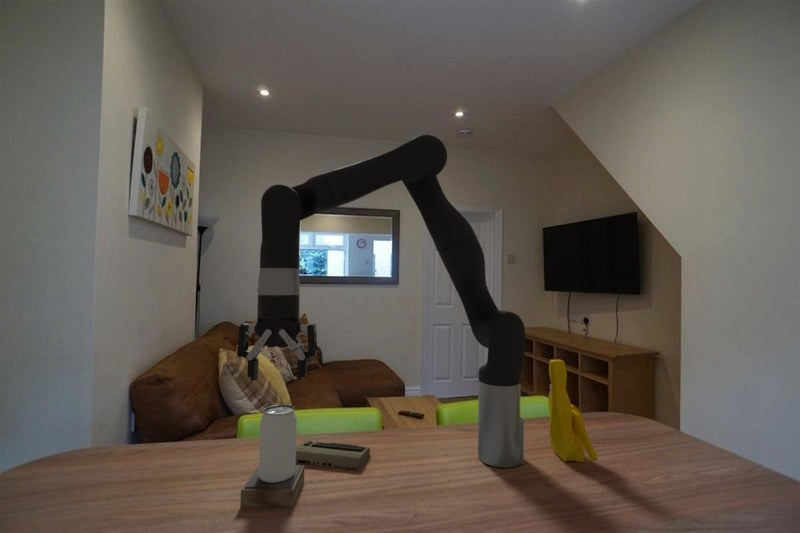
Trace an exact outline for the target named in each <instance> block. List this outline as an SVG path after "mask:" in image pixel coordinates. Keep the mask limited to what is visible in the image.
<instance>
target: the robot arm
mask: <svg viewBox="0 0 800 533" xmlns="http://www.w3.org/2000/svg"><path fill="white" fill-rule="evenodd" d="M447 161H448V151H447V148H446V146H445V144H444V143H443V141H442V140H440V138H438V137H436V136H434V135H431V134H420V135H418V136H415V137H413V138H412V139H410V140H409V141H407V142H405V143H403V144H401V145H399V146H398V147H396V148H393V149H391V150H389V151H386V152H383V153H381V154H379V155H376V156H373V157H371V158H367V159H364V160H362V161H359V162H355V163H352V164H349V165H345V166H343V167H340V168H335V169H333V170H330V171H326V172H322V173H319V174H317V175H314V176H312V177H309V178H308V179H307V180H306V181H305V182H303V183H300V184H298V185H295V186H292V187H291V186H289V185H287V184H284V183H283V184H282V183H279V184H278V183H276V184H273V185H271V186H269V187H268V188H267V189H266V190H264V193H263V194H262V196H261V200H260V209H261V211H260V214H261V215H260V216H261V220H260V222H261V243H260V251H259V272H258V279H257V287H256V288H257V289H256V290H257V291H256V292H257V310H256V311H257V316H256V317H257V318H256V320H257V321H256V324H250V323H248V322H245V323H242V324H240V325H239V327H238V334H237V335H238V338H237V347H236V355H237V357H238V358H244V359H246V361H247V377H248V378H249V379H250V381H251V382H254V381H257V380H259V361H260V360H259V358H258V356H259V354H260V353H261V352H262V351H263V350H264V349H265V347H267V348H275V347H277V348H281V349H282V348H287V347H289V349H290V351H292V352H293V353H294V354H295V356H297V358H298V360H297V376H296V378H297V379H296V380H297V381H302V380H303V379H304V378H305V377H306V376H307V373H308V359H309V358H312V357H315V356H316V354H317V353H318V340H317V324H316V323H314V322H312V323H308V324H301V322H300V292H301V291H300V289H301V288H300V286H301V284H300V283H301V281H300V271H299V261H300V260H299V259H300V254H299V253H300V248H299V234H300V225H301V223H300V222H301V221H303V220H305V219H307V218H309V217H312V216H314V215H316V214H319V213H320V212H325V211H328V210H331V209H335V208H338V207H341V206H343V205H346V204H349V203H352V202H355V201H357V200H358V199H361V198H363V197H366V196H367V195H369V194H371V193H374V192H376V191H378V190H380V189H382V188H384V187H387V186H388V185H391V184H395V183H398V182H400V181H401V182H402V183H403V185H404V187H405V188H406V190H407V192H408V193H409V195H410V197H411V198H412V200H413V201H414V203H415V206H416V207H417V209H418V211H419V213H420V215H421V217H422V219H423V222H424V224H425V226H426V228H427V230H428V233H429V234H430V237H431V239H432V241H433V243H434V246H435V249H436V250H437V252H438V255H439V256H440V259H441V261H442V264H443V265H444V267H445V269H446V271H447V274H448V275H449V278H450V280H451V282H452V284H453V286H454V288H455V290H456V293H457V295H458V297H459V298H460V300H461V303H462V305H463V308H464V311H465V314H466V318H467V320H468V322H469V323H468V324H469V326H470V329H471V331H472V334H473V336H474V339H475V340H476V341H477V343H479V344H480V346H482V347H484V348H486V349H487V360H486V363H485V364H484V365H481V366H479V368H478V382H477V383H478V391H477V392H478V396H477V397H478V399H477V400H478V406H477V410H478V411H477V412H478V413H477V414H478V418H477V420H478V421H477V422H478V424H477V427H478V428H477V431H478V432H477V437H478V438H477V456H478V459H479V460H480V461H481V462H482V463H484V464H487V465H489V466H492V467H495V468H514V467H517V466H519V465H524V464H525V462H524V457H525V455H524V454H525V452H524V449H525V446H524V445H525V444H524V441H525V440H524V439H525V438H524V436H525V435H524V434H525V433H524V430H525V428H524V427H525V426H524V422H525V421H524V419H523V418H522V417H521V376H522V374H523V371H524V368H525V358H526V354H525V353H526V328H525V324H524V322H523V320H522V318H521V317H520V315H518V314H516V312H513V311H508V310H500V309H499V308H498V306H497V305H496V303H495V302H494V300H493V298H492V295H491V293H490V292H489V289H488V285H487V281H486V260H485V254H484V251H483V249H482V245H481V244H480V241H479V238H478V237H477V235H476V233H475V230H474V229H473V227H472V225H471V224H470V222H469V221H468V220H467V219H466V218H465V217H464V216H463V214H461V213H460V211H459V210H458V209H456V207H454V206H453V204H452V203H451V202H450V201H449V199H448V197H446V195H445V194H444V191H443V189H442V187H441V185H440V182H439V180H438V177H437V176H438V175H439V174H441V172H442V171H443V169H444V168H445V166H446V164H447ZM301 331H302V332H303V335H304V336H306V337H307V350H306V348H304V347H303V344H302V343H301V341H300V340H299V338H298V335H299V334H300V333H301ZM254 332H255V333H256V335H257V337H259V339H258V340H257V341H256V342H255V344H254V345H253V347H252V349H251V350H249V346H250V336H252V335H253V333H254Z"/></svg>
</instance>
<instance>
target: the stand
mask: <svg viewBox="0 0 800 533" xmlns="http://www.w3.org/2000/svg"><path fill="white" fill-rule="evenodd" d="M305 467H306V466H305V465H301V464H295V473H294V475H293V476H292V477H291V478H290V479H288V480H286V481H284V482H280V483H266V482H263V481H262V480H261V479H260V478H259V464H258V466H257V467H255V470H254V471H253V472H252V473H251V475H250V476H249V478H248V479H247V481H245V482H246V483H244V485H243V486H242V488H241V489H240V505H239V506H240V509H261V508H262V509H268V508H271V509H272V508H273V509H274V508H276V509H277V508H278V509H280V508H282V509H283V508H285V509H287V508H289V509H290V508H291V509H292V508H294V506H295V504H296V501H297V499H298V496H299V494H300V493H301V490H302V487H303V485H304V483H305Z"/></svg>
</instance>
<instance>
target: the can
mask: <svg viewBox="0 0 800 533" xmlns="http://www.w3.org/2000/svg"><path fill="white" fill-rule="evenodd" d="M295 409H296V408H295V407H294V406H293V405H291V404H275V405H271V406H267V407H264V409H263V410H262V412H263V413H262V415H261V418H260V422H259V423H260V424H259V445H258V447H259V453H258V454H259V455H258V465H259V478H260V479H261V480H262V481H263V482H266V483H280V482H284V481H286V480H288V479H290V478H291V477H292V476H293V475H294V473H295V465H296V464H297V463H296V446H297V426H298V425H297V421H298V420H297V414H296V411H295Z"/></svg>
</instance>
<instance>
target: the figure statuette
mask: <svg viewBox="0 0 800 533" xmlns="http://www.w3.org/2000/svg"><path fill="white" fill-rule="evenodd" d="M548 363H549V364H548V373H549V379H550V384H551V390H550V393H549V395H548V408H549V417H550V419H549V421H550V422H549V430H548V431H549V433H548V434H549V443H550V447H551V451H552V452H553V453H555V454H556V455H557V456H558V457H559V459H561V460H562V461H563V462H580V463H583V462H585V450H586V454H587V456H588V458H589V460H590V462H593V461H594V462H595V461H597V460H599V457H598V455H597V453H596V451H595V448H594V446H593V444H592V441H591V440H590V437H589V434H588V433H587V430H586V427H585V424H586V422H585V419H584V418H583V416H582V415H583V413H582V412H581V411H580V409H578V408H577V407H576V406H575V405H573V403H571V400H570V397H569V394H568V392H567V391H568V390H567V389H566V388H567V379H568V376H567V375H568V373H567V367H566V362H565V360H562V359H558V358H555V359H550V360H549V362H548Z"/></svg>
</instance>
